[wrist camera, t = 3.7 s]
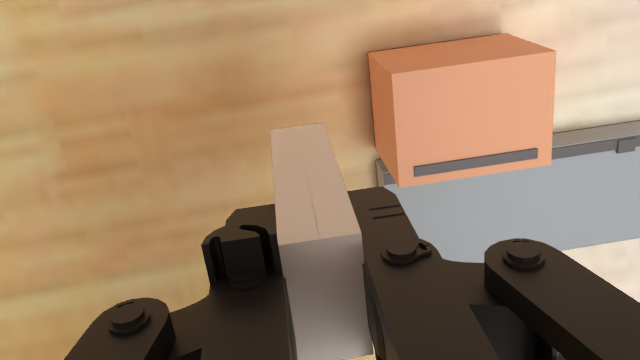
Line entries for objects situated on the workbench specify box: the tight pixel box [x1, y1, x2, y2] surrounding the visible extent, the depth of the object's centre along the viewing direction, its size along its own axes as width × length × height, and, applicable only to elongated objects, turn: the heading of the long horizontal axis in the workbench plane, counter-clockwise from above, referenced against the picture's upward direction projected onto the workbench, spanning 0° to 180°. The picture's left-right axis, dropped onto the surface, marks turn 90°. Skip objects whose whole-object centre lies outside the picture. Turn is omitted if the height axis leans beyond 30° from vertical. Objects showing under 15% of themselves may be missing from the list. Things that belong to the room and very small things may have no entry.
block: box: [368, 34, 556, 188], centre depth 23 cm, size 6×4×4 cm
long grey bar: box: [376, 121, 640, 263], centre depth 27 cm, size 22×5×2 cm, turn 97°
